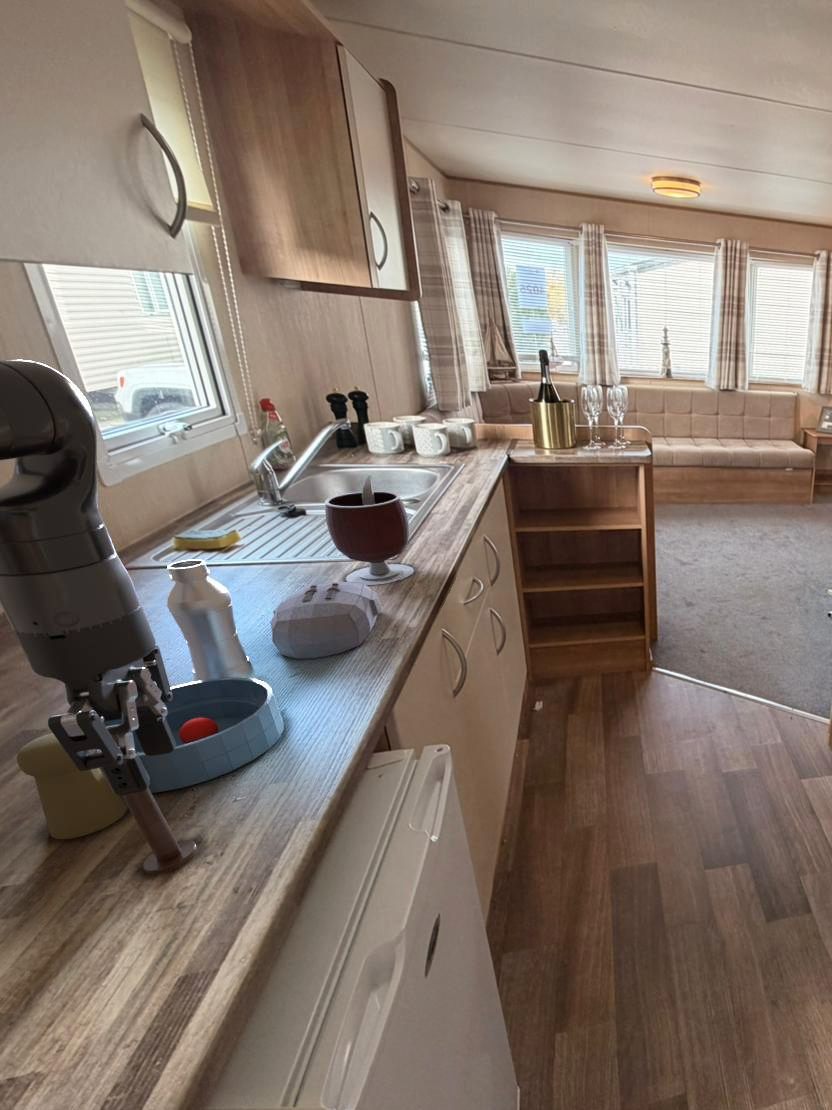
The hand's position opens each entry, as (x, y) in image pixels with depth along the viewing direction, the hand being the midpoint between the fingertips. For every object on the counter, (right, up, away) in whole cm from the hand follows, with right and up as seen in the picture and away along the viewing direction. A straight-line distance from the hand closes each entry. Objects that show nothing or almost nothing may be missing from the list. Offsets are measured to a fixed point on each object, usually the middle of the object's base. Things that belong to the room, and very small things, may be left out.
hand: (148, 770), depth 61 cm
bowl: (-14, -3, +20) cm, 24 cm away
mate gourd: (-27, +21, +76) cm, 83 cm away
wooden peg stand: (-2, -10, +4) cm, 11 cm away
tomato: (-14, 0, +20) cm, 24 cm away
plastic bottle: (-21, +3, +33) cm, 39 cm away
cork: (-15, -8, +8) cm, 19 cm away
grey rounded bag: (-19, +10, +50) cm, 54 cm away
